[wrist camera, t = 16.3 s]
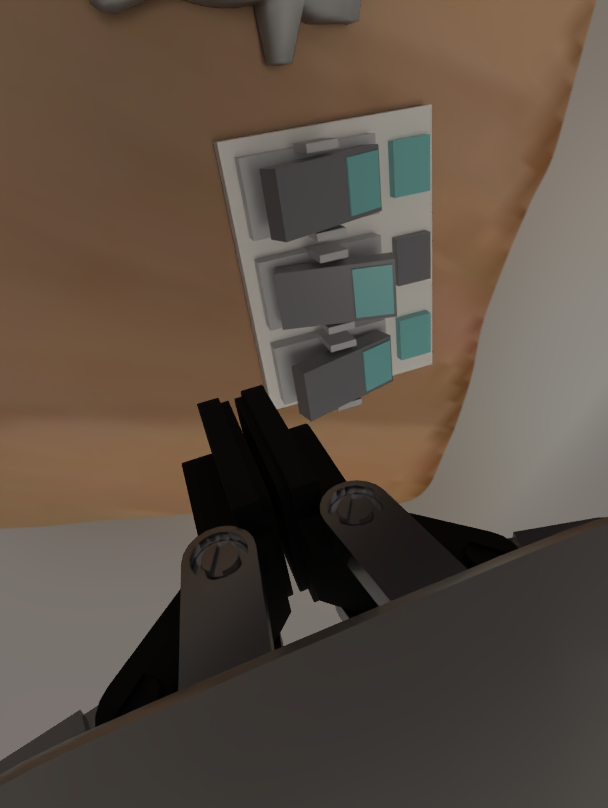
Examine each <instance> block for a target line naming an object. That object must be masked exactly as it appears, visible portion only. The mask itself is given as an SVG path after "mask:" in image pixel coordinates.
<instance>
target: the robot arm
mask: <svg viewBox="0 0 608 808" xmlns="http://www.w3.org/2000/svg"><path fill="white" fill-rule="evenodd" d="M241 396H242V397H239V398H236V399H235V404H236V408H237V412H238V416H239V420H240V424H241V428H242V431H241V428H240V426H239V424H238V422H237V419H236V417H235V415H234V413H233V410H232V408H231V406H230V404H229V401H226V402H222V403H220V401H219V398H216V399H212V400H209V401H205V402H202V403H199V404H197V406H198V409H199V413H200V416H201V419H202V422H203V426H204V429H205V432H206V436H207V439H208V442H209V445H210V449H211V452H212V454H209V455H206V456H203V457H199V458H196V459H193V460H190V461H187V462H184V463H182V468H183V472H184V477H185V481H186V485H187V490H188V494H189V499H190V503H191V507H192V512H193V516H194V520H195V525H196V529H197V534H198V536H197V537H196V538H195V539H194V540H193V541H192V542H191V543H190V544H189V545H188V547H187V549H186V550H185V552H184V554H183V558H182V562H181V589H180V590H179V592H178V593H177V594H176V596H175V597H174V599H173V600H172V601H171V603H170V604H169V605H168V607H167V608H166V609H165V611H164V612H163V613H162V615H161V616H160V617H159V619H158V620H157V621H156V623H155V624H154V625H153V627H152V628H151V630H150V631H149V632H148V634H147V635H146V636H145V638H144V639H143V640H142V642H141V643H140V644H139V646H138V647H137V648H136V650H135V651H134V653H133V654H132V655H131V656H130V658H129V659H128V661H127V662H126V663H125V665H124V666H123V667H122V669H121V670H120V671H119V673H118V674H117V675H116V677H115V678H114V679H113V681H112V682H111V683H110V685H109V686H108V688H107V689H106V691H105V693H104V694H103V696H102V698H101V700H100V702H99V705H98V706H97V707H95V708H93V709H92V710H90V711H89V712H87V713H86V714H83V713H82V711H81V710H79V711H77V712H76V713H74V714H73V715H71V716H70V717H68V718H67V719H65V720H63V721H62V722H60V723H59V724H57V725H56V726H54V727H53V728H51V729H49V730H48V731H46V732H45V733H43V734H42V735H40V736H39V737H37V738H35V739H34V740H32V741H31V742H30V743H28V744H26V745H24V746H23V747H21V748H20V749H18V750H17V751H15V752H14V753H12V754H10V755H9V756H7V757H6V758H4V759H3V760H1V761H0V808H608V517H601V518H592V519H586V520H581V521H575V522H569V523H563V524H558V525H551V526H546V527H540V528H534V529H528V530H523V531H516V532H513V538H508V539H507V538H505V537H504V536H501V535H499V534H496V533H493V532H490V531H485V530H481V529H477V528H472V527H468V526H464V525H459V524H455V523H451V522H446V521H442V520H438V519H433V518H429V517H425V516H420V515H416V514H411V513H408V512H407V511H406V510H405V509H404V508H402V506H400V505H399V504H398V503H397V502H396V501H395V500H394V499H393V498H392V497H391V496H390V495H389V494H388V493H387V492H386V491H385V490H384V489H382V488H381V487H379V486H378V485H376V484H373V483H370V482H367V481H359V480H355V481H346V480H345V479H344V477H343V476H342V474H341V473H340V471H339V470H338V468H337V467H336V465H335V464H334V462H333V461H332V459H331V458H330V456H329V455H328V453H327V452H326V450H325V449H324V447H323V446H322V444H321V443H320V441H319V440H318V438H317V437H316V435H315V434H314V432H313V431H312V429H311V428H310V427H309V425H308V424H303V425H300V426H296V427H293V428H290V429H288V428H287V426H286V424H285V423H284V421H283V419H282V417H281V416H280V414H279V412H278V411H277V409H276V407H275V406H274V404H273V402H272V401H271V399H270V397H269V396H268V394H267V392H266V390H265V389H264V387H263V386H262V385H260V386H256V387H253V388H249V389H246V390H243V391H241ZM242 432H243V433H242ZM284 555H285V556H284ZM285 557H286V559H287V562H288V564H289V567H290V569H291V571H292V574H293V576H294V579H295V581H296V583H297V586H298V588H299V590H300V591H304V590H306V589H309V592H310V594H311V596H312V599H313V601H314V602H316V601H319V600H320V601H323V602H326V603H330V604H332V605H335V606H336V610H337V613H338V615H339V617H340V619H341V620H342V621H343V622H340V623H338V624H335V625H333V626H331V627H328V628H326V629H324V630H321V631H319V632H316V633H314V634H312V635H309V636H307V637H304V638H302V639H300V640H297V641H295V642H293V643H290V644H288V645H286V646H283V641H282V638H281V634H280V632H281V630H282V628H283V626H284V624H285V622H286V620H287V619H288V617H289V615H290V613H291V608H290V604H289V600H288V597H289V596H291V595H293V590H292V586H291V582H290V577H289V574H288V569H287V565H286V560H285Z"/></svg>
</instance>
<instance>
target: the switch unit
mask: <svg viewBox="0 0 608 808" xmlns="http://www.w3.org/2000/svg"><path fill="white" fill-rule="evenodd" d="M213 144H214V149H215V154H216V159H217V163H218V168H219V173H220V178H221V182H222V187H223V192H224V197H225V201H226V206H227V211H228V216H229V220H230V225H231V230H232V235H233V239H234V244H235V249H236V254H237V259H238V263H239V268H240V273H241V278H242V282H243V287H244V292H245V297H246V301H247V306H248V311H249V316H250V320H251V325H252V330H253V335H254V339H255V344H256V349H257V354H258V359H259V363H260V368H261V373H262V378H263V382H264V387H265V390H266V392H267V394H268V396H269V397H270V399H271V401H272V402H273V404H274V406H275V407H276V409H280V408H283V407H287V406H290V405H294V404H297V403H298V401H297V395H296V390H295V384H294V378H293V372H292V366H294V365H296V364H299V363H301V362H303V361H306V360H308V359H310V358H313V357H315V356H317V355H320V354H322V353H324V352H326V351H329V350H330V351H331V352H335V351H338V350H342V349H345V348H349V347H353V346H356V345H357V343H356V339H357V338H359V337H361V336H363V335H366V334H368V333H370V332H373V331H375V330H378V331H381V332H383V333H386V334H388V335H390V336H391V356H392V376H393V375H396V374H400V373H403V372H406V371H410V370H413V369H417V368H420V367H424V366H427V365H430V364H432V104H430V105H419V106H413V107H408V108H402V109H396V110H391V111H385V112H379V113H374V114H368V115H362V116H357V117H351V118H345V119H339V120H334V121H328V122H322V123H317V124H311V125H305V126H300V127H294V128H288V129H283V130H277V131H271V132H265V133H260V134H254V135H248V136H243V137H237V138H231V139H226V140H220V141H214V142H213ZM367 144H378V147H379V166H380V185H381V204H382V211H380V212H377V213H374V214H371V215H368V216H365V217H362V218H359V219H356V220H353V221H350V222H347V223H344V224H341V225H338V226H335V227H332V228H329V229H326V230H323V231H320V232H317V233H314V234H311V235H308V236H305V237H301V238H298V239H295V240H292V241H289V242H281V241H276V240H271V235H270V229H269V223H268V217H267V212H266V206H265V200H264V194H263V188H262V182H261V176H260V171H259V169H260V168H264V167H269V166H273V165H277V164H281V163H286V162H290V161H294V160H298V159H303V158H307V157H311V156H315V155H320V154H324V153H328V152H332V151H336V150H341V149H345V148H349V147H353V146H358V145H367ZM389 252H392V254H393V256H394V258H395V276H396V300H397V317H390V318H381V319H373V320H364V321H355V322H347V323H338V324H330V325H321V326H313V327H304V328H295V329H287V330H283V328H282V322H281V316H280V311H279V305H278V299H277V294H276V288H275V282H274V276H273V273H274V270H275V267H282V266H290V265H297V264H305V263H313V262H319V263H325V262H329V261H333V260H337V259H343V258H351V257H359V256H366V255H374V254H382V253H389ZM360 404H362V399H361V397H359V398H357V399H355V400H353V401H351V402H349V403H347V404H345V405H343V406H341V407H339V408H337V410H338V411H340V410H344V409H347V408H350V407H354V406H357V405H360Z"/></svg>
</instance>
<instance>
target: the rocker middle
mask: <svg viewBox="0 0 608 808" xmlns="http://www.w3.org/2000/svg"><path fill="white" fill-rule="evenodd" d="M273 276H274V282H275V288H276V294H277V299H278V305H279V311H280V316H281V322H282V328H283V330H287V329H295V328H304V327H313V326H321V325H330V324H338V323H347V322H355V321H364V320H373V319H381V318H390V317H397V300H396V276H395V258H394V256H393V254H392V252H389V253H382V254H374V255H366V256H359V257H351V258H343V259H337V260H333V261H329V262H325V263H319V262H313V263H305V264H297V265H290V266H282V267H275V270H274V273H273Z"/></svg>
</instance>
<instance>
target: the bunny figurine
mask: <svg viewBox="0 0 608 808" xmlns="http://www.w3.org/2000/svg"><path fill="white" fill-rule="evenodd" d="M89 1H90V3H91V4H92V5H93V6H95V7H96V8H97V9H99V10H100V11H101V12H102V13H116V14H117V13H120V12H122V11H124V10H126V9H128V8H130V7H133V6H135V5H137V4H139V3H141V2H143V1H145V0H89ZM187 1H190V2H193V3H196V4H199V5H202V6H209V7H216V8H237V7H243V6H249V5H253V6H254V10H255V15H256V19H257V24H258V28H259V33H260V37H261V42H262V47H263V51H264V56H265V60H266V65H278V66H280V65H284V64H288V63H292V60H293V55H294V50H295V45H296V40H297V35H298V30H299V26H300V22H303V23H305V24H332V23H339V24H345V25H347V24H350V23H353V22H357V21H359V14H360V6H361V0H187Z"/></svg>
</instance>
